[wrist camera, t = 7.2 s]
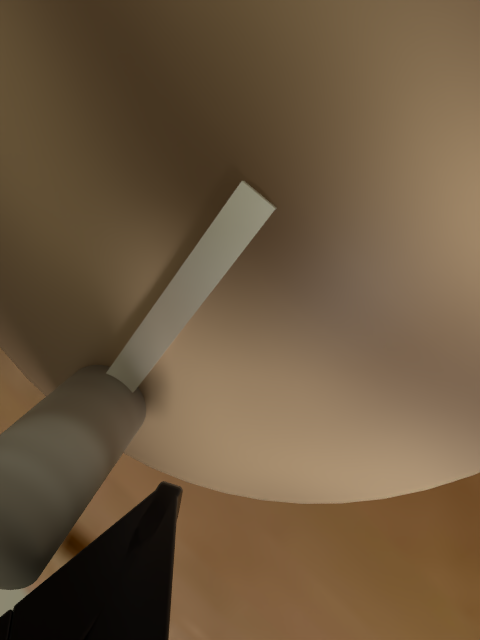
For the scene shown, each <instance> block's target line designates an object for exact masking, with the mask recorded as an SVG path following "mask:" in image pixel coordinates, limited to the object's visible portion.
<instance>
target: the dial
mask: <svg viewBox="0 0 480 640" xmlns="http://www.w3.org/2000/svg"><path fill="white" fill-rule="evenodd" d="M0 347H1V349H2V350H3V351H4V352H5V353H6V354H7V355H8V357H9V358H10V359H11V360H12V361H13V362H14V364H15V365H16V366H17V367H18V368H19V369H20V371H21V372H22V373H23V374H24V375H25V376H26V377H27V378H28V379H29V380H30V381H31V382H32V383H33V384H34V385H35V386H36V387H37V388H38V389H39V390H40V391H41V392H42V393H43V394H44V395H45V396H46V397H45V398H44V399H43V400H42V401H40V402H39V403H38V404H37V405H36V406H34V407H33V408H32V409H31V410H30V411H28V412H27V413H26V414H25V415H24V416H22V417H21V418H20V419H19V420H17V421H16V422H15V423H14V424H13V425H11V426H10V427H9V428H8V429H7V430H5V431H4V432H3V433H2V434H1V435H0V589H6V590H14V589H21V588H25V587H27V586H29V585H31V584H33V583H34V582H35V581H36V580H37V579H38V577H39V576H40V575H41V573H42V572H43V570H44V569H45V567H46V566H47V564H48V563H49V561H50V560H51V558H52V557H53V555H54V554H55V552H56V551H57V550H58V548H59V547H60V545H61V544H62V542H63V541H64V539H65V538H66V536H67V535H68V533H69V532H70V530H71V529H72V527H73V526H74V524H75V523H76V522H77V520H78V519H79V517H80V516H81V514H82V513H83V511H84V510H85V508H86V507H87V505H88V504H89V502H90V501H91V499H92V498H93V496H94V495H95V494H96V492H97V491H98V489H99V488H100V486H101V485H102V483H103V482H104V480H105V479H106V477H107V476H108V474H109V473H110V471H111V470H112V468H113V467H114V465H115V464H116V463H117V461H118V460H119V458H120V457H121V455H122V454H123V453H124V454H126V455H128V456H130V457H132V458H134V459H136V460H138V461H140V462H142V463H143V464H145V465H147V466H149V467H151V468H153V469H156V470H158V471H161V472H163V473H166V474H168V475H171V476H173V477H176V478H178V479H181V480H183V481H186V482H189V483H192V484H195V485H199V486H202V487H206V488H209V489H212V490H216V491H219V492H223V493H227V494H233V495H238V496H243V497H248V498H254V499H259V500H267V501H278V502H289V503H301V504H311V503H349V502H358V501H367V500H376V499H385V498H390V497H395V496H399V495H404V494H409V493H413V492H418V491H423V490H428V489H431V488H434V487H437V486H440V485H444V484H447V483H450V482H453V481H456V480H459V479H462V478H466V477H469V476H472V475H475V474H477V473H479V472H480V0H0Z"/></svg>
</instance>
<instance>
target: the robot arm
mask: <svg viewBox="0 0 480 640" xmlns="http://www.w3.org/2000/svg"><path fill="white" fill-rule="evenodd" d="M182 492H183V490H182V488H181V487H180V486H177V485H174V484H171V483H168V482H164V481H163V482H161V483H160V484H159V485H158V487H157V489H156V490H155V491H154V492H153V493H151V494H150V495H149V496H148V497H147V498H145V499H144V500H143V501H142V502H140V503H139V504H138V505H137V506H136V507H134V508H133V509H132V510H131V511H129V512H128V513H127V514H126V515H125V516H123V517H122V518H121V519H120V520H118V521H117V522H116V523H115V524H114V525H112V526H111V527H110V528H109V529H108V530H106V531H105V532H104V533H103V534H101V535H100V536H99V537H98V538H97V539H95V540H94V541H93V542H92V543H90V544H89V545H88V546H87V547H86V548H84V549H83V550H82V551H81V552H79V553H78V554H77V555H76V556H75V557H73V558H72V559H71V560H70V561H68V562H67V563H66V564H65V565H64V566H62V567H61V568H60V569H59V570H57V571H56V572H55V573H54V574H53V575H51V576H50V577H49V578H48V579H47V580H45V581H44V582H43V583H42V584H40V585H39V586H38V587H37V588H36V589H34V590H33V591H32V592H31V593H29V594H28V595H27V596H26V597H25V598H23V599H22V600H21V601H20V602H18V603H17V604H16V605H15V606H14V609H13V610H8V611H7V612H6V613H5V614H3V615H2V616H1V617H0V640H168V638H169V623H170V608H171V593H172V579H173V564H174V549H175V535H176V521H177V517H178V513H179V508H180V503H181V497H182Z"/></svg>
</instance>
